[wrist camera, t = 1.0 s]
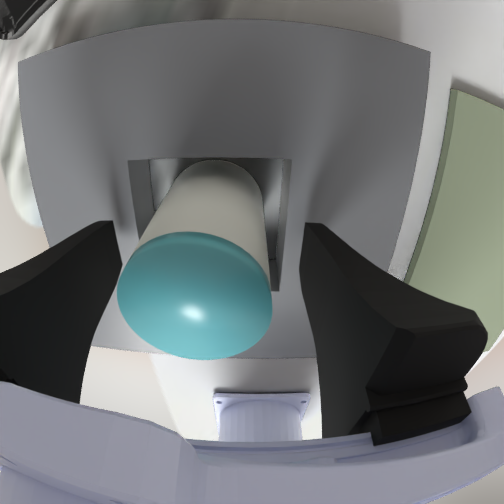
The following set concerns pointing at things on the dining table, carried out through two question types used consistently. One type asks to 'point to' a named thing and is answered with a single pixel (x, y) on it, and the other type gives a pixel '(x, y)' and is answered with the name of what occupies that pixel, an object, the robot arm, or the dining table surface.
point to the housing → (228, 138)
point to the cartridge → (201, 267)
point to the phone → (20, 16)
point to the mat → (466, 216)
